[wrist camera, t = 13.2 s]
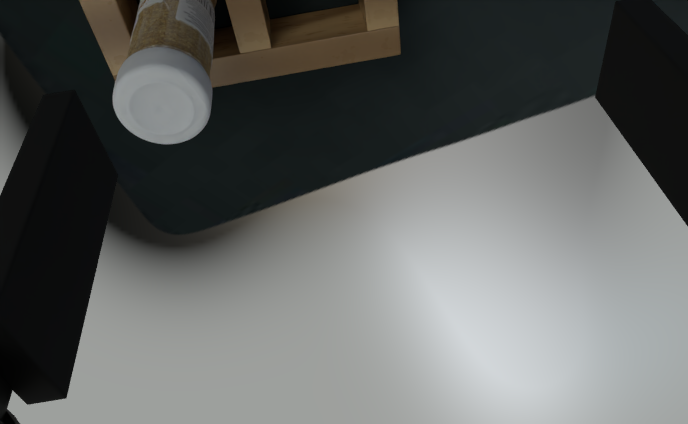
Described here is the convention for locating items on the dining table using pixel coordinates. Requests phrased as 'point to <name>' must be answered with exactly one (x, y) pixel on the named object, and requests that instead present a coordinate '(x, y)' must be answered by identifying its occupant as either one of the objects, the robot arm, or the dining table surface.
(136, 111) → the spice jar
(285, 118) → the dining table surface
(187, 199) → the dining table surface
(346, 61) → the holder
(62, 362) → the robot arm
